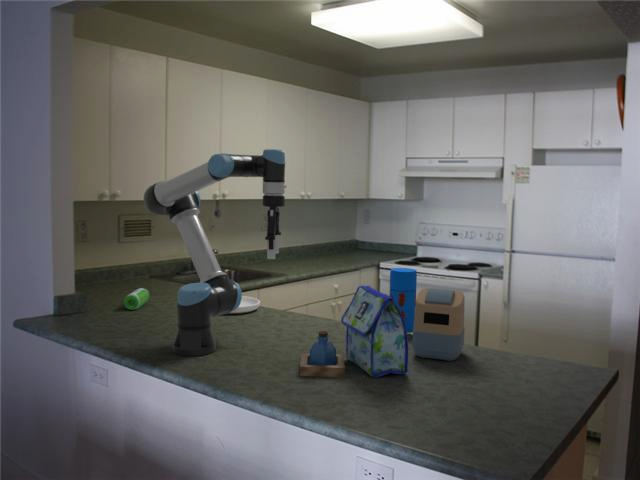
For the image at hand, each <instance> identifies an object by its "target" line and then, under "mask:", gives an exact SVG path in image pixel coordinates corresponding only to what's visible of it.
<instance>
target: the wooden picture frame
mask: <svg viewBox="0 0 640 480" xmlns="http://www.w3.org/2000/svg"><path fill="white" fill-rule="evenodd" d="M344 356H345V355H344V354H338V353H336V366H333V365H309V364H310V353H301V359H300V366H299V376H300V377H322V378H323V377H324V378H325V377H329V378H333V377H335V378H345V371H346V370H345V357H344Z"/></svg>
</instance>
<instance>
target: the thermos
mask: <svg viewBox="0 0 640 480" xmlns="http://www.w3.org/2000/svg"><path fill="white" fill-rule="evenodd" d="M417 272H418V271H417V269H414V268H410V267H393V268H391V269H390V271H389V295H388V296H390V297H392V298H393V299H394V301H395V303H396V305H397V306H398V308H399V310H400V312H401V314H402V316H403V318H404V321H405V325H406V330H407V334H409V333H413V329H414V319H415V306H416V299H417V282H418V281H417V280H418V279H417V277H418V275H417V274H418V273H417Z"/></svg>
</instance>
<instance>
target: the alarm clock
mask: <svg viewBox="0 0 640 480" xmlns="http://www.w3.org/2000/svg"><path fill="white" fill-rule="evenodd" d="M464 345H465V294H464V293H463V292H462V291H460V290H456V289H447V288H446V289H445V288H436V287H429V288H428V287H426V288H423V289H421V290H420V291H418V294H417V295H416V306H415V319H414V329H413V332H412V348H413V353H414V354H415V355H416V356H417V357H420V358H422V359H424V358H426V359H436V360H441V361H446V362H453V361H456V360H457V359H458V358H459V357H460V354H461V352H462V350H463V348H464Z"/></svg>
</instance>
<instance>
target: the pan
mask: <svg viewBox="0 0 640 480" xmlns="http://www.w3.org/2000/svg"><path fill="white" fill-rule="evenodd" d="M260 305H261V301H260V300H259V299H258V298H256V297H252V296H247V295H245V296H244V295H242V300H241V303H240V305H239V307H238V308H237V309H236V310H234V311H232V312H230V313H228V314H227V315H240V314H247V313H252V312H253V311H255V310H257V309H258V308H260Z"/></svg>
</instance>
